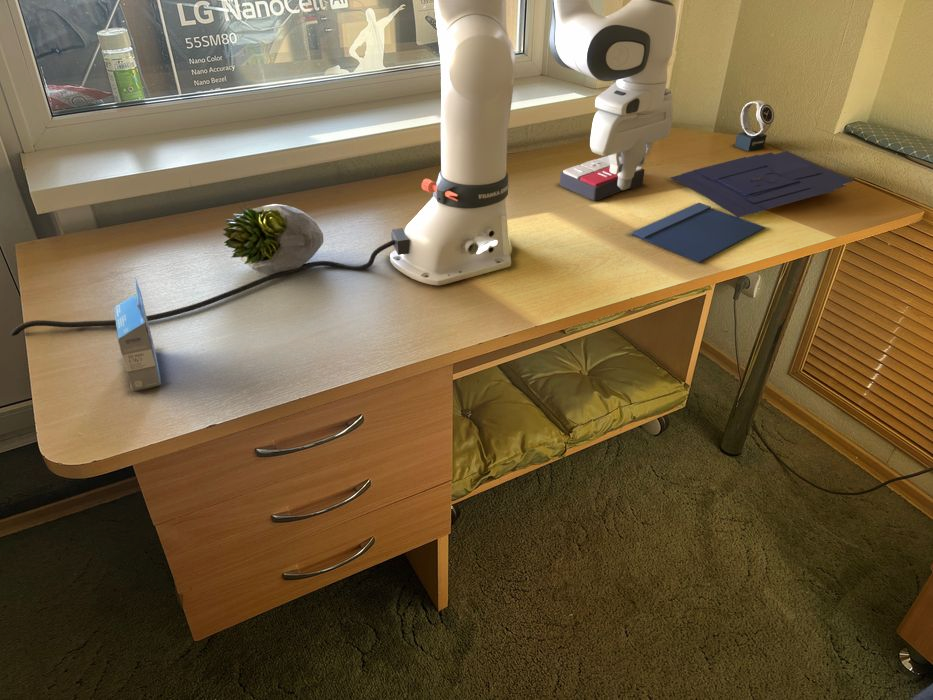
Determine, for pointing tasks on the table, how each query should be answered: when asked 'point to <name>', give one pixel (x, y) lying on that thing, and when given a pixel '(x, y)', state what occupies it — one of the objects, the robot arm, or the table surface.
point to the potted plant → (273, 238)
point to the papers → (761, 182)
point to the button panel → (596, 179)
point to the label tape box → (136, 343)
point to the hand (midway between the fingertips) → (626, 168)
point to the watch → (749, 137)
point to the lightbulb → (630, 163)
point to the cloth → (698, 232)
